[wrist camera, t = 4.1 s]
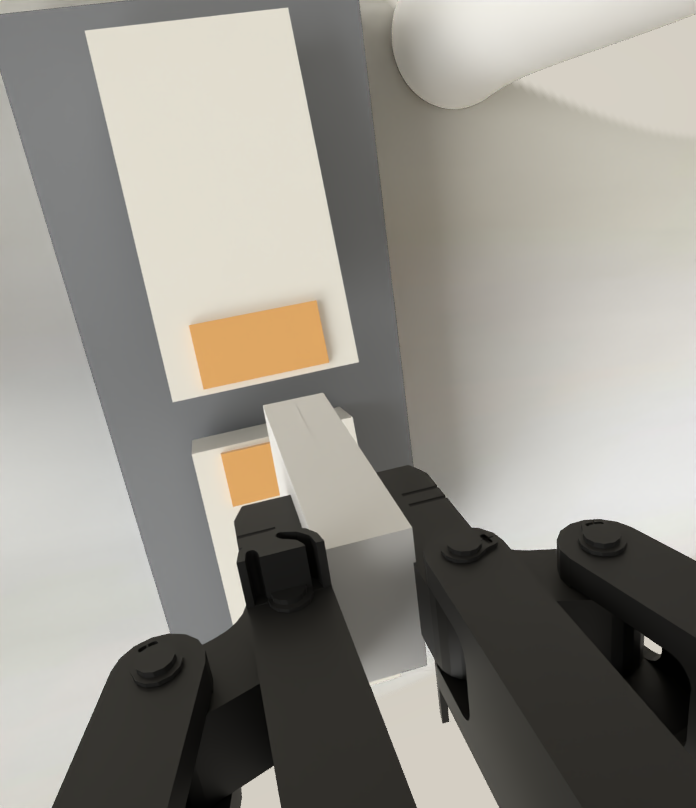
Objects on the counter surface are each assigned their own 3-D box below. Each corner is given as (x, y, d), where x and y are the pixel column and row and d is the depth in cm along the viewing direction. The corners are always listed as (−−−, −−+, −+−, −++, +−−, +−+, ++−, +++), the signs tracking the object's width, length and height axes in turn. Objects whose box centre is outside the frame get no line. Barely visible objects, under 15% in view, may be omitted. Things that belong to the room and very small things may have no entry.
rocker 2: (251, 686, 28) (256, 725, 26) (192, 439, 26) (191, 455, 23) (385, 646, 29) (403, 680, 27) (339, 406, 27) (354, 418, 24)
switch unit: (183, 603, 36) (186, 704, 29) (23, 47, 26) (-28, 7, 19) (401, 544, 38) (450, 625, 31) (332, 11, 28) (382, -36, 21)
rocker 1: (176, 397, 23) (172, 403, 20) (98, 65, 21) (82, 26, 19) (344, 360, 24) (360, 362, 21) (279, 43, 22) (289, 3, 20)
